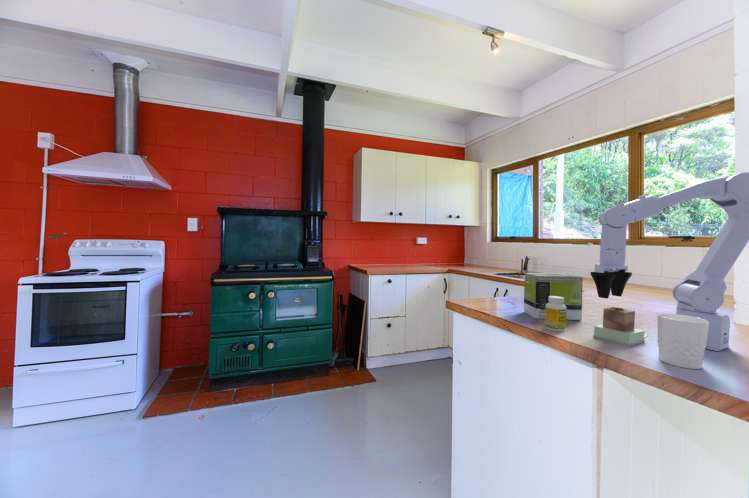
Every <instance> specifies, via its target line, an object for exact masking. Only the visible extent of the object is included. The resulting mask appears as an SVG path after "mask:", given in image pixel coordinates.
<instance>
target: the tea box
mask: <svg viewBox="0 0 749 498" xmlns="http://www.w3.org/2000/svg"><path fill="white" fill-rule="evenodd" d="M523 284H524V288H523V290H524V292H523V312H524V313H525V314H526V315H529V316H530V317H532V318H533V319H540V320H541V319H542V320H545V307H546V304H547V303H549V301H548V297H549V296H559V297H563V298H564V303H563V304H564V305H565V306H566V321H582V319H583V318H582V317H583V276H578V275H574V274H570V273H569V274H568V273H552V272H551V273H550V272H549V273H547V272H543V273H542V272H541V273H539V272H538V273H537V272H534V273H533V272H525V273H524V283H523Z"/></svg>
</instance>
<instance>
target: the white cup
mask: <svg viewBox="0 0 749 498" xmlns="http://www.w3.org/2000/svg"><path fill="white" fill-rule="evenodd" d="M708 326H709V321H707V320H704V319H701V318H697V317H692V316H686V315H678V314H676V313H664V312H663V313H657V347H658V360H660V361H661V362H662V363H666V364H667V365H671V366H675V367H679V368H684V369H691V370H701V369H702V368H703V362H704V361H703V360H704V356H705V353H706V348H705V347H706V341H707V333H708Z"/></svg>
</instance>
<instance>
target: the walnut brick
mask: <svg viewBox="0 0 749 498" xmlns="http://www.w3.org/2000/svg"><path fill="white" fill-rule="evenodd" d="M602 314H603V315H602V316H603V317H602V318H603V319H602V324H603V327H606V328H610V329H614V330H618V331H623V332H627V331H631V330H634V328H635V320H636V319H635V317H636V310H631V309H627V308H626V309H625V308H622V307H615V306H611V307H605V308H603V313H602Z"/></svg>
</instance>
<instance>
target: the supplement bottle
mask: <svg viewBox="0 0 749 498" xmlns="http://www.w3.org/2000/svg"><path fill="white" fill-rule="evenodd" d="M548 301H549V303H547V304H546V307H545V319H544V328H545V329H546V330H549V331H554V332H565V331H566V325H567V323H566V322H567V320H566V306H565V305H564V304H563V303H564V298H563V297H559V296H549V297H548Z"/></svg>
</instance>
